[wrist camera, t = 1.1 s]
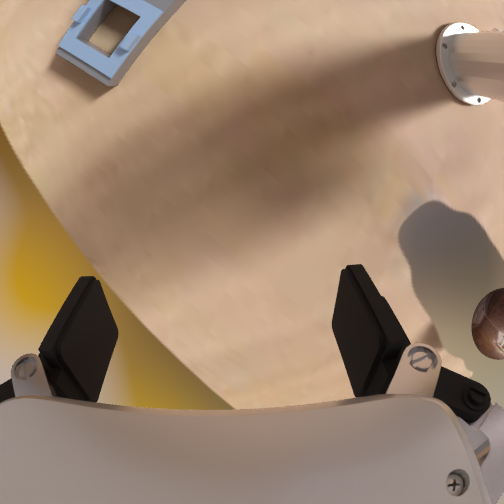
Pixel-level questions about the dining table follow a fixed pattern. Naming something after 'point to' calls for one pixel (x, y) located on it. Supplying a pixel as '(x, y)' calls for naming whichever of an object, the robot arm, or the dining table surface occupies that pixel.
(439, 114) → the dining table surface
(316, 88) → the dining table surface
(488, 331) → the wooden sphere
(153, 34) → the grey slotted holder
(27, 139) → the dining table surface
